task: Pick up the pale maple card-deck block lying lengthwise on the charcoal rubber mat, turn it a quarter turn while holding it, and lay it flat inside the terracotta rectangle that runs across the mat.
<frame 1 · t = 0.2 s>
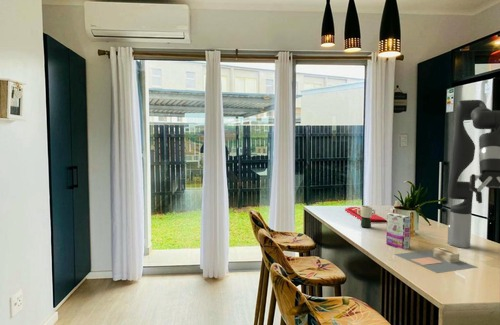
hand: (494, 203, 119), 31 cm above the kitchen island, tool tilted 20°, fingers open, 8 cm apart
rubber mat: (433, 261, 149), on the kitchen island
maple deck block: (445, 258, 151), point 1 cm above the kitchen island, touching rubber mat
candy bar box: (397, 246, 171), on the kitchen island
dish drying mat: (364, 217, 243), on the kitchen island
character mug: (365, 227, 211), on the kitchen island
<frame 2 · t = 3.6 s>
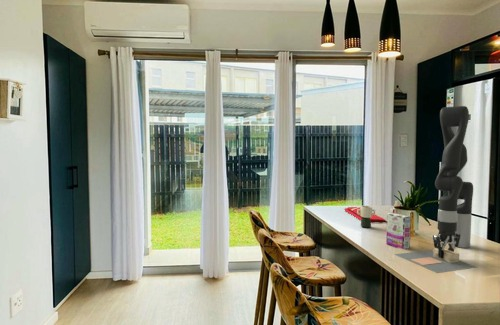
hand: (445, 257, 151), 1 cm above the kitchen island, tool pointing down, fingers closed on maple deck block, 5 cm apart
maple deck block: (445, 258, 151), point 1 cm above the kitchen island, touching gripper, rubber mat
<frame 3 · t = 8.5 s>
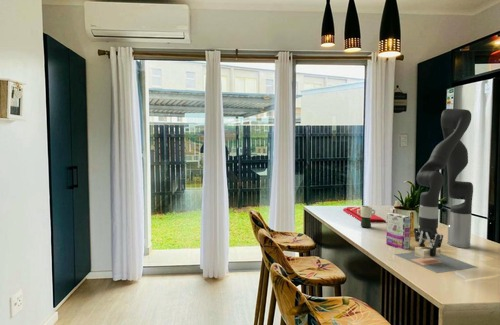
hand: (427, 254, 147), 4 cm above the kitchen island, tool pointing down, fingers closed on maple deck block, 5 cm apart
maple deck block: (427, 256, 147), point 3 cm above the kitchen island, touching gripper
when the fingers open (3 cm above the kitchen island, at t = 9.5 s): maple deck block drops 1 cm, resting on rubber mat.
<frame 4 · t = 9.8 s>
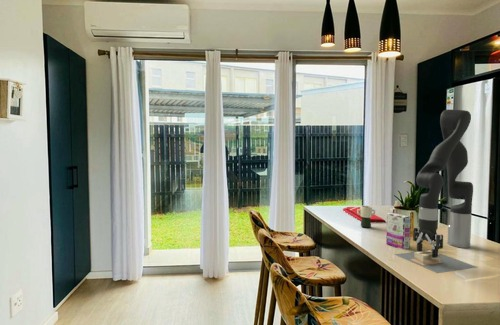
hand: (426, 254, 147), 4 cm above the kitchen island, tool pointing down, fingers open, 7 cm apart
maple deck block: (426, 260, 147), point 1 cm above the kitchen island, touching rubber mat
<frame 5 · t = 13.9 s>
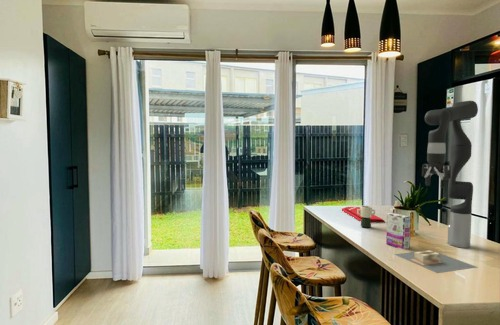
hand: (435, 186, 158), 32 cm above the kitchen island, tool pointing down, fingers open, 8 cm apart
at the end: maple deck block 0.1 cm from the target spot, point 0.8 cm above the kitchen island; maple deck block tilted 0°; the gripper is holding nothing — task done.
